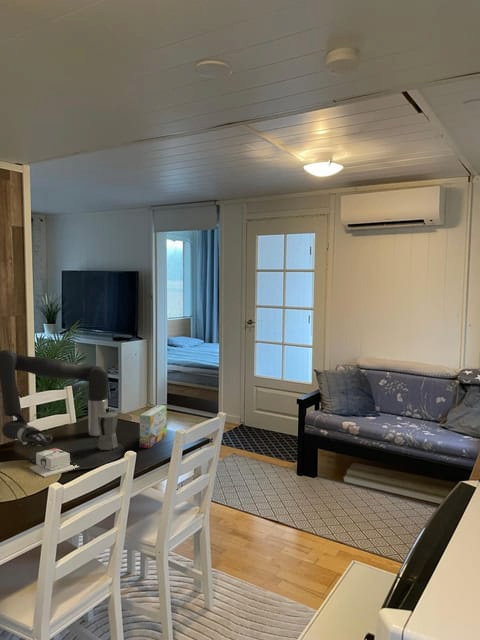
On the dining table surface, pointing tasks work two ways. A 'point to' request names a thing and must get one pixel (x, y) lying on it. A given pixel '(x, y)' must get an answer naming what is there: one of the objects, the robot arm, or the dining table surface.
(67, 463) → the ink box
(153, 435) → the snack box
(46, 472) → the mat
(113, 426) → the coffeepot
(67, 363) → the robot arm
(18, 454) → the dining table surface
